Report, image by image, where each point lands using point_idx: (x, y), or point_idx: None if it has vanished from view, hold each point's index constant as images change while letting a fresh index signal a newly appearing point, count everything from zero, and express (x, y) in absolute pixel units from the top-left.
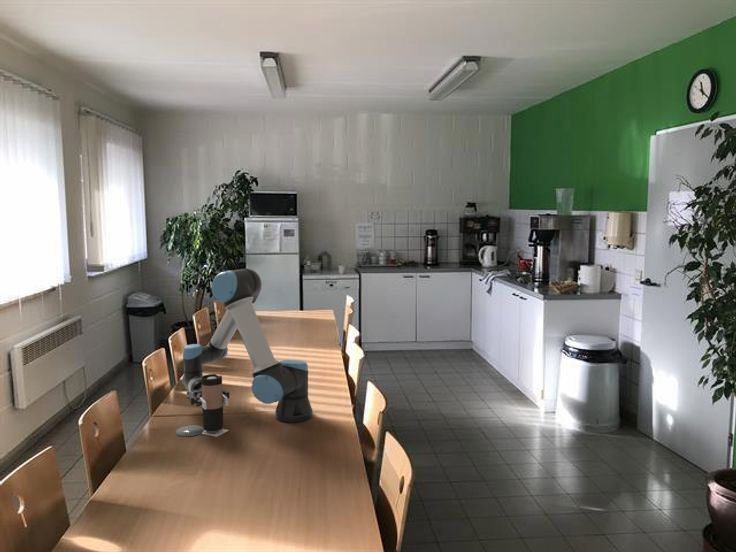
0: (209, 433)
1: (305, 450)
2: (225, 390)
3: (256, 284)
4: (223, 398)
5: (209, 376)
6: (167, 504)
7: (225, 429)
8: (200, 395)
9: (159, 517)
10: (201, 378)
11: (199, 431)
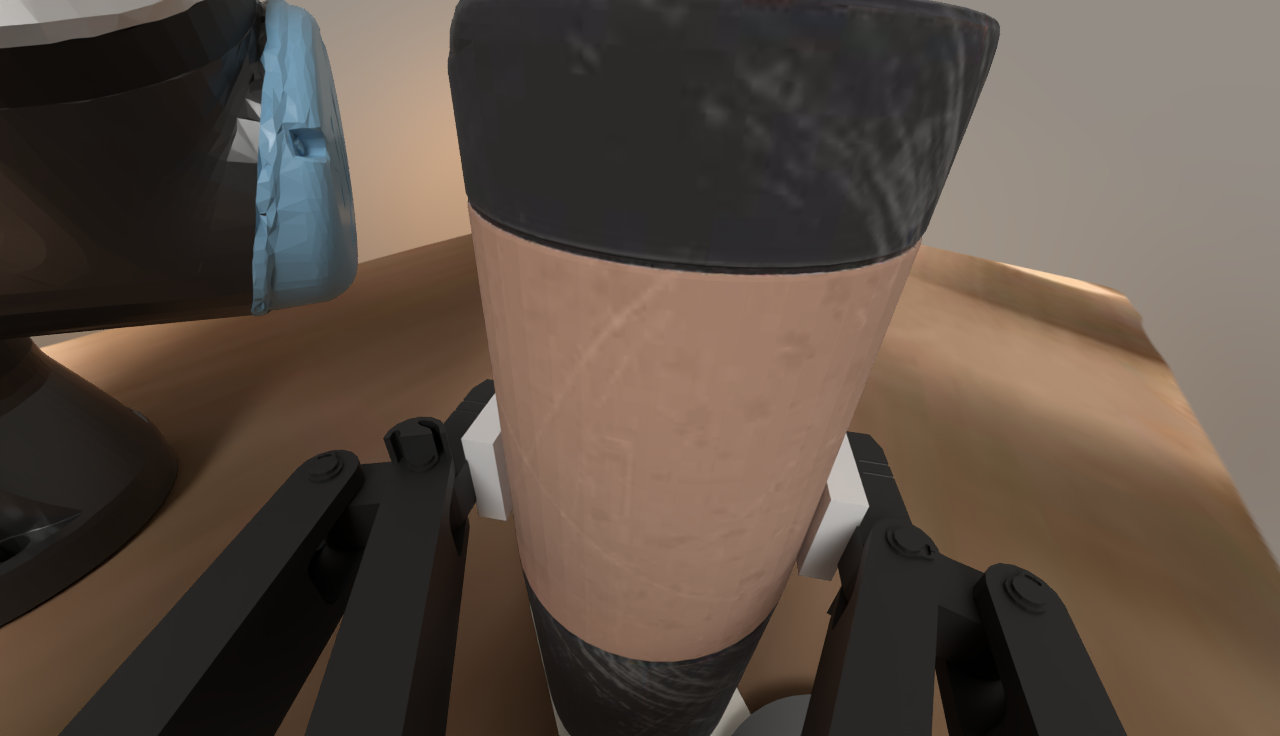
0: None
1: None
2: (187, 602)
3: None
4: None
5: (668, 86)
6: (923, 290)
7: (537, 637)
8: (825, 731)
9: (934, 274)
10: (988, 64)
11: (765, 730)
